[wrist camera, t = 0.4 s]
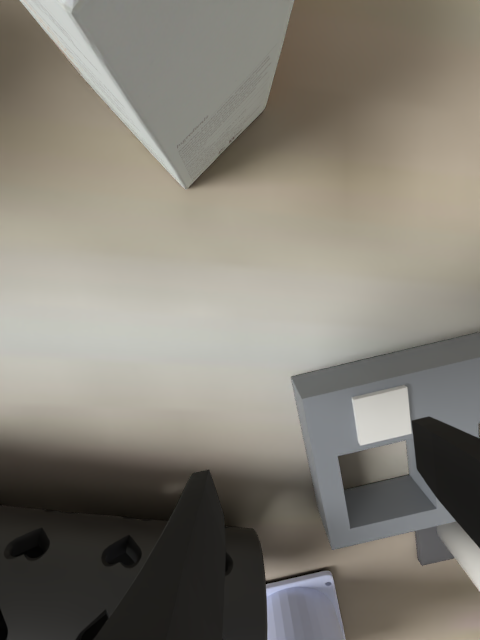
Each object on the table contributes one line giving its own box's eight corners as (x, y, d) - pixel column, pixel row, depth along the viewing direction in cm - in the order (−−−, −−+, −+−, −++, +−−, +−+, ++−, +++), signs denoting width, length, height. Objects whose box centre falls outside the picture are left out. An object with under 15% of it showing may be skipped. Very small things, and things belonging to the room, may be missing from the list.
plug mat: (497, 540, 25) (503, 546, 24) (417, 559, 25) (421, 565, 24) (497, 474, 23) (503, 480, 22) (411, 495, 23) (415, 500, 22)
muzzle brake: (234, 575, 24) (241, 806, 14) (-129, 547, 22) (-431, 803, 12) (255, 482, 22) (280, 678, 12) (-147, 439, 20) (-537, 641, 10)
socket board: (541, 459, 23) (593, 494, 19) (318, 511, 23) (333, 554, 20) (547, 316, 20) (609, 329, 16) (290, 376, 20) (303, 401, 17)
